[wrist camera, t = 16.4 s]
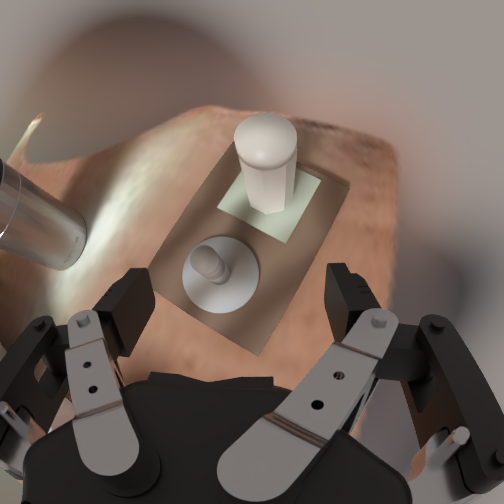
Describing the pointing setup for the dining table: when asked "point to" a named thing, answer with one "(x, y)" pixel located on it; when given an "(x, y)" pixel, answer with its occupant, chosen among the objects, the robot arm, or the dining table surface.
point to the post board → (243, 252)
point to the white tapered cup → (63, 414)
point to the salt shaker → (267, 160)
